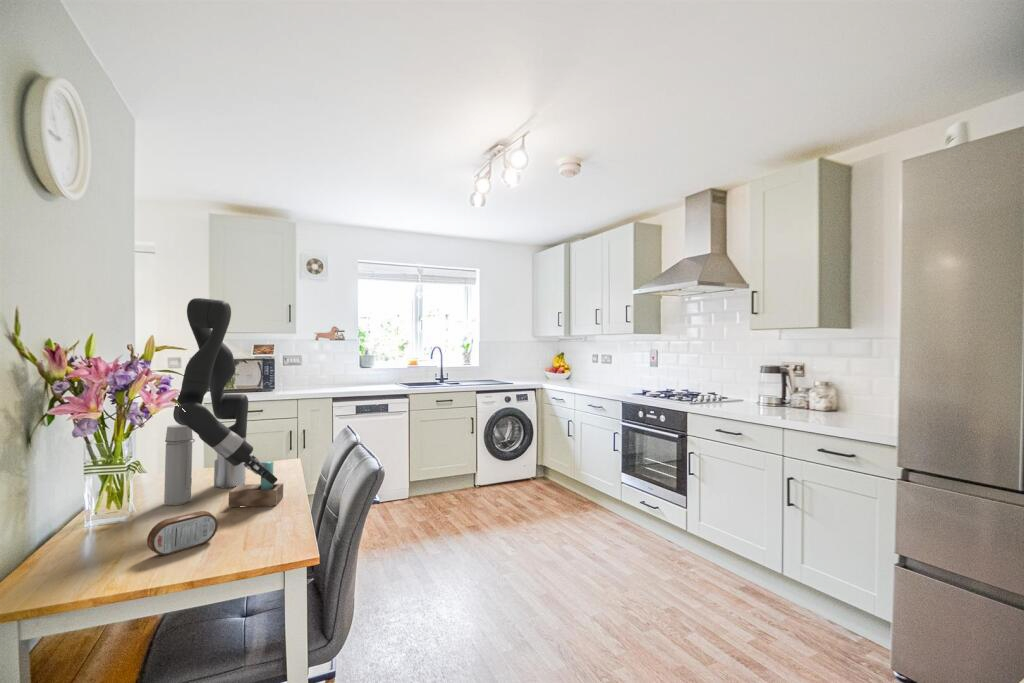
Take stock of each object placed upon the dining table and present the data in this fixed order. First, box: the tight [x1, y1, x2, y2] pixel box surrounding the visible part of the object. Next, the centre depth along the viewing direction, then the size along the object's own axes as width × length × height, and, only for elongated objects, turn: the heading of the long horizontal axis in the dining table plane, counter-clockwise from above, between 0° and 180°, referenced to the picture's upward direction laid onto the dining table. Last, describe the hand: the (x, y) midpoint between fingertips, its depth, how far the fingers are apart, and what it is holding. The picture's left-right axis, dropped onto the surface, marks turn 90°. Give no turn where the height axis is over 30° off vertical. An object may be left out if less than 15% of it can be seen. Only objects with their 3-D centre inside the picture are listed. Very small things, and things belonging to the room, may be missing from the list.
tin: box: [146, 510, 219, 556], centre depth 120 cm, size 15×3×8 cm, turn 145°
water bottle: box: [163, 423, 196, 506], centre depth 154 cm, size 9×8×25 cm
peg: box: [260, 460, 275, 490], centre depth 156 cm, size 4×4×12 cm
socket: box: [228, 482, 284, 508], centre depth 156 cm, size 14×8×5 cm, turn 101°
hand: (273, 480), depth 158 cm, fingers open, 4 cm apart
